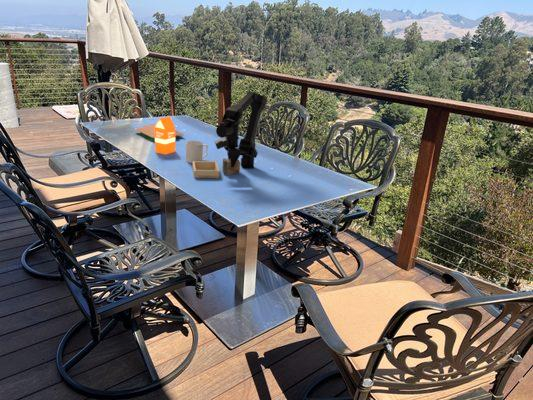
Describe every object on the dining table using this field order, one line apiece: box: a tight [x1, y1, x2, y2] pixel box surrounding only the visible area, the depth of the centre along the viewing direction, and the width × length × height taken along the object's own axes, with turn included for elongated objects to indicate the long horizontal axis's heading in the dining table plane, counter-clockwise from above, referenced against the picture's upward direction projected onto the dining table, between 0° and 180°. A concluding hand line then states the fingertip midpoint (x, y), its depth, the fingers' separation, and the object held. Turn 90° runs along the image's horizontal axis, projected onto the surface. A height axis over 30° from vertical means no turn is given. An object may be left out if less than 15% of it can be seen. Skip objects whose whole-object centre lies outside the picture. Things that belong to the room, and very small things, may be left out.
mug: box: [185, 140, 209, 164], centre depth 211 cm, size 12×9×11 cm
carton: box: [192, 160, 221, 179], centre depth 195 cm, size 12×19×5 cm, turn 13°
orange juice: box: [154, 116, 176, 155], centre depth 223 cm, size 8×9×20 cm
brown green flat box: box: [134, 122, 184, 143], centre depth 258 cm, size 23×33×8 cm
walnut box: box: [222, 158, 241, 175], centre depth 197 cm, size 8×5×7 cm, turn 103°
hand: (231, 164), depth 197 cm, fingers open, 9 cm apart
